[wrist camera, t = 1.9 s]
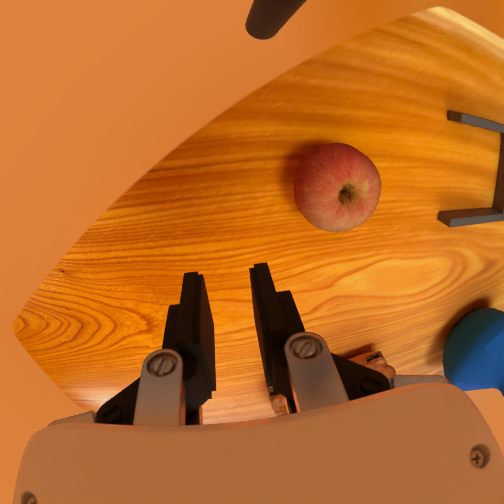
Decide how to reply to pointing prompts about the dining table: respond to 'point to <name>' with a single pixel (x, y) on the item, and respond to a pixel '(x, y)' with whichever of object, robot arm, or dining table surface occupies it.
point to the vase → (476, 351)
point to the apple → (336, 187)
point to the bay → (500, 210)
